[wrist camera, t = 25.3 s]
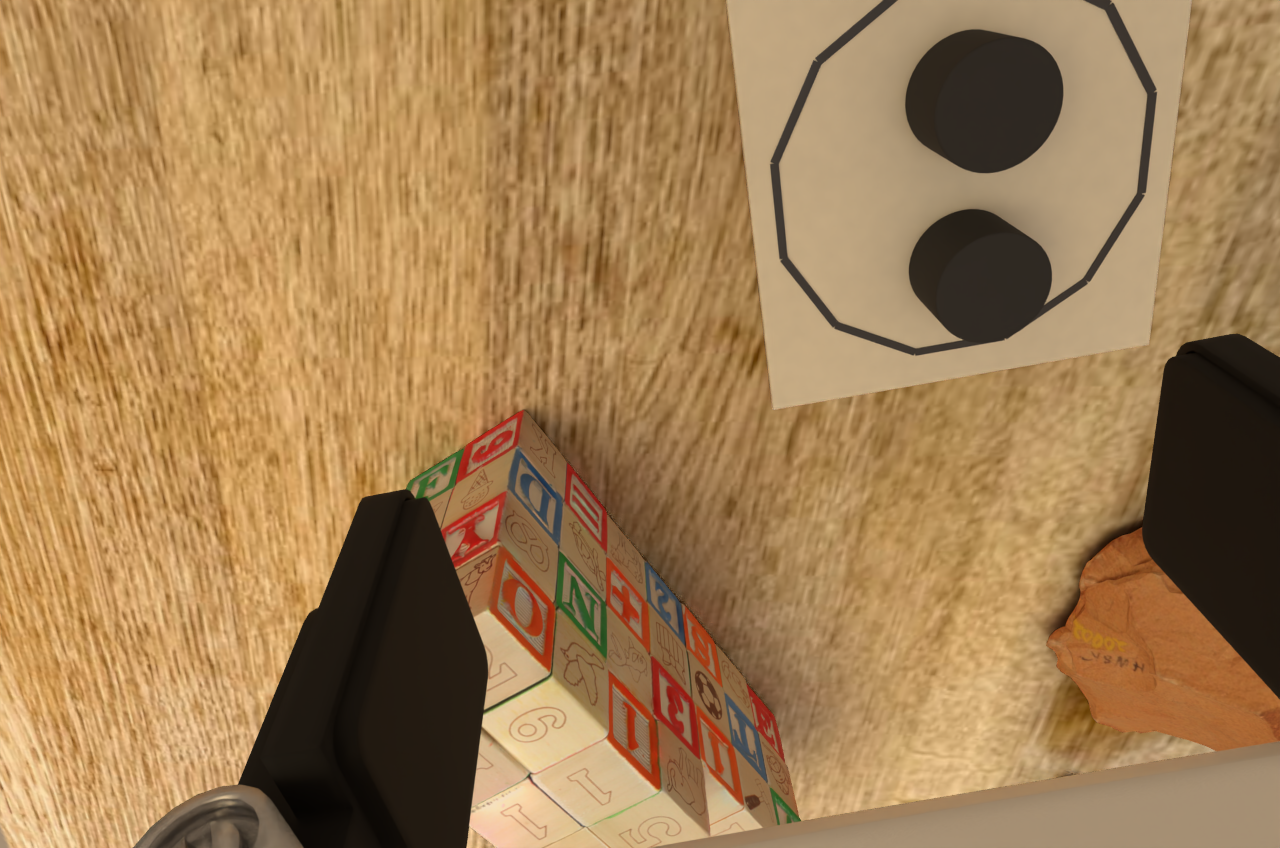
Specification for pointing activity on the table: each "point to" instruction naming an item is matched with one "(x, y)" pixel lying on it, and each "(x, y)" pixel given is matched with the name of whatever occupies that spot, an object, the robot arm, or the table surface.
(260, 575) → the table surface
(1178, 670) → the stone
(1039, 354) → the face card
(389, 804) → the robot arm
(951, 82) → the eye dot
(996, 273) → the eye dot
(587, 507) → the stack of blocks
